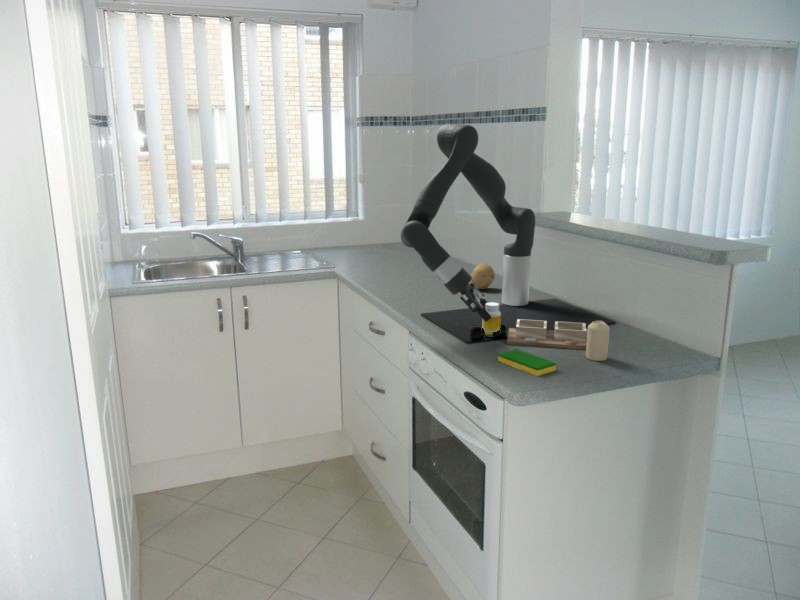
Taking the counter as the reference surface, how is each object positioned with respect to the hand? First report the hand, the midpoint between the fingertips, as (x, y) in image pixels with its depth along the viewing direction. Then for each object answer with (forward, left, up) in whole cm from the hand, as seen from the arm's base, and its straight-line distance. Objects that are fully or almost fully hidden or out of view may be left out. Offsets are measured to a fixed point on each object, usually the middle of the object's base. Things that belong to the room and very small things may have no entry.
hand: (490, 315), depth 195 cm
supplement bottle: (0, 0, -6) cm, 6 cm away
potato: (-58, -8, -6) cm, 59 cm away
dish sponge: (+24, +11, -7) cm, 27 cm away
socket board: (+1, +17, -6) cm, 18 cm away
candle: (+14, +29, -6) cm, 33 cm away
